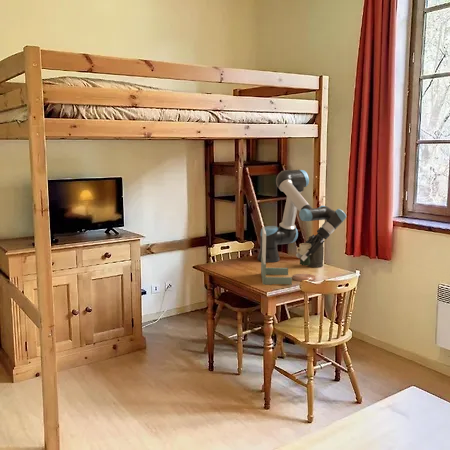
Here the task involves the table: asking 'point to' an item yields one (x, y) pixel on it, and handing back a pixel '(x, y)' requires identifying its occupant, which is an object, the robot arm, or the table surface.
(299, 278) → the terracotta saucer
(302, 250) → the character mug
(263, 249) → the grey-green stand
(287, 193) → the robot arm
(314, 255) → the beer stein
